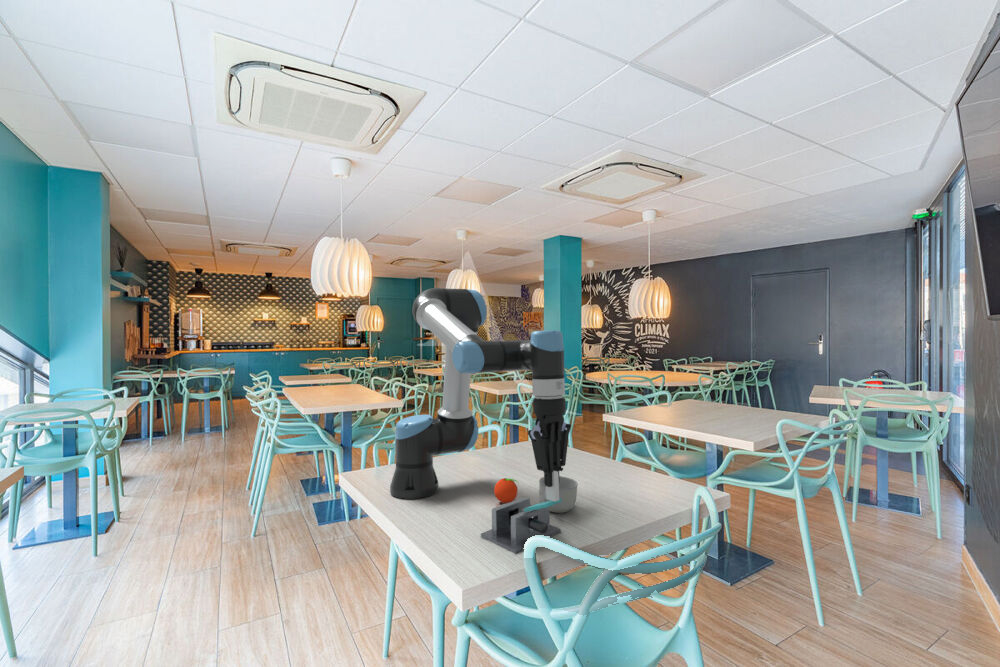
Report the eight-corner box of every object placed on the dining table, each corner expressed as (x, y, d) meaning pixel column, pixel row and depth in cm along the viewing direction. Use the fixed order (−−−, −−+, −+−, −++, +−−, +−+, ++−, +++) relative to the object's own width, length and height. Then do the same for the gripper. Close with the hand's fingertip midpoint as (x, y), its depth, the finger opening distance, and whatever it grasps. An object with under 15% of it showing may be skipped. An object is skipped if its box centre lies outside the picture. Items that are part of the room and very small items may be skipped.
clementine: (520, 498, 139) (520, 474, 139) (522, 506, 132) (522, 481, 132) (493, 498, 138) (493, 474, 138) (494, 507, 131) (494, 482, 131)
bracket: (480, 536, 112) (480, 509, 112) (525, 518, 123) (525, 493, 123) (515, 553, 103) (515, 523, 103) (560, 532, 114) (560, 504, 114)
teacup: (552, 499, 137) (552, 472, 137) (584, 507, 130) (584, 479, 130) (525, 513, 126) (524, 484, 126) (558, 523, 119) (558, 492, 119)
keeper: (522, 512, 109) (522, 509, 109) (536, 506, 112) (535, 504, 113) (548, 506, 103) (547, 503, 104) (561, 501, 107) (560, 498, 107)
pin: (499, 524, 115) (498, 506, 115) (511, 519, 118) (511, 502, 119) (538, 540, 106) (538, 521, 106) (550, 534, 109) (550, 516, 109)
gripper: (542, 400, 99) (546, 511, 98) (579, 395, 108) (583, 496, 107) (517, 398, 105) (521, 503, 104) (554, 393, 114) (558, 489, 113)
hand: (552, 499), depth 106 cm, fingers closed
